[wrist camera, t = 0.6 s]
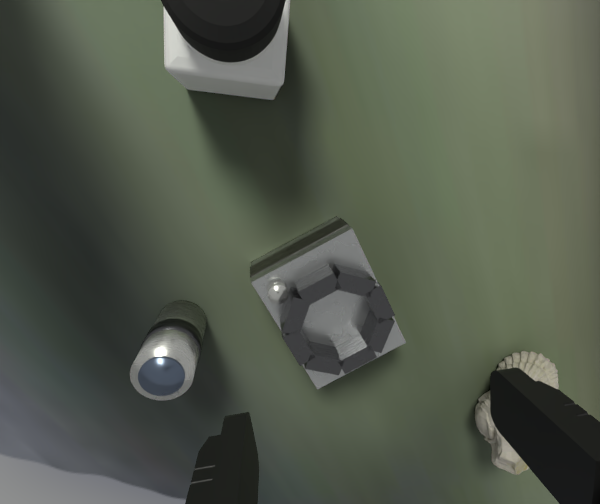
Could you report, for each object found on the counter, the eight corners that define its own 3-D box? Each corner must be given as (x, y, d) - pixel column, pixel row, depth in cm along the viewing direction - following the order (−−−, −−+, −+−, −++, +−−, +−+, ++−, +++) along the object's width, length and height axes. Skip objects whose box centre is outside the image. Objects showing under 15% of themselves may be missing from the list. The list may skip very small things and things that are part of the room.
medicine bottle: (275, 101, 28) (294, 69, 16) (184, 89, 27) (137, 47, 15) (282, -1, 26) (309, -117, 14) (184, -18, 25) (130, -159, 13)
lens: (146, 314, 32) (113, 369, 24) (190, 290, 31) (171, 338, 24) (175, 350, 33) (152, 413, 25) (216, 328, 33) (206, 385, 25)
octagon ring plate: (250, 261, 31) (250, 292, 25) (337, 215, 31) (360, 233, 25) (308, 357, 35) (321, 405, 29) (385, 316, 35) (417, 355, 29)
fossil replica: (544, 336, 39) (459, 344, 39) (611, 378, 31) (506, 389, 31) (535, 425, 42) (456, 434, 42) (596, 485, 34) (498, 496, 34)
